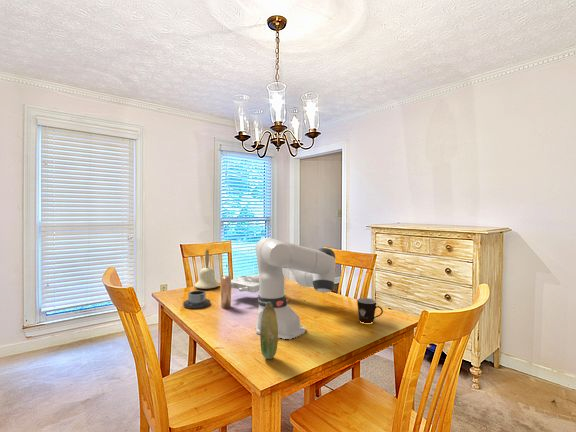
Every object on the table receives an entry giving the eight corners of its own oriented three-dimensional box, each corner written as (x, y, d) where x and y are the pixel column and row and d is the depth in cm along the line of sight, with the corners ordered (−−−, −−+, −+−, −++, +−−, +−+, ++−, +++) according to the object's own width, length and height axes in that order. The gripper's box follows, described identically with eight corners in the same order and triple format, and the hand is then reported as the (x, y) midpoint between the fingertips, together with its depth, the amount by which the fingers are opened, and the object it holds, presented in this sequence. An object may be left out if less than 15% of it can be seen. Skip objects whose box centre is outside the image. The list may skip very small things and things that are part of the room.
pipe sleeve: (215, 304, 169) (215, 292, 169) (194, 310, 158) (194, 298, 158) (199, 299, 178) (199, 287, 177) (177, 305, 166) (177, 293, 166)
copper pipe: (232, 306, 165) (232, 276, 164) (225, 309, 161) (225, 278, 160) (226, 305, 168) (226, 275, 167) (219, 307, 164) (219, 277, 163)
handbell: (220, 289, 199) (220, 250, 198) (195, 291, 193) (196, 251, 192) (217, 283, 213) (217, 247, 212) (193, 285, 207) (193, 248, 206)
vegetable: (281, 358, 110) (281, 302, 109) (270, 365, 105) (271, 306, 104) (267, 353, 113) (268, 299, 113) (256, 360, 108) (257, 303, 107)
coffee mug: (353, 320, 148) (353, 299, 148) (368, 317, 151) (369, 297, 151) (367, 329, 137) (368, 306, 137) (384, 326, 140) (384, 304, 140)
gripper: (265, 291, 174) (248, 297, 163) (239, 286, 186) (221, 291, 175) (265, 280, 174) (248, 285, 163) (239, 275, 186) (221, 280, 175)
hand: (233, 288), depth 169 cm, fingers open, 8 cm apart
